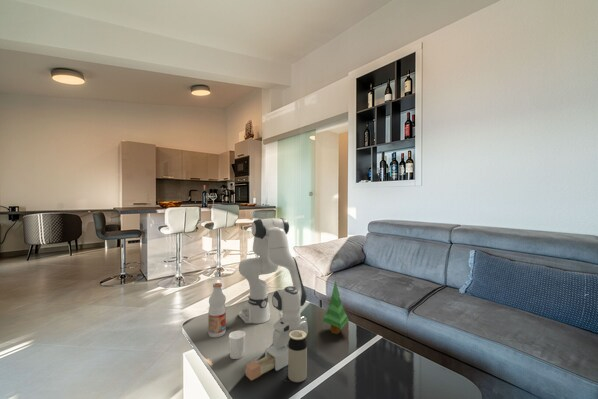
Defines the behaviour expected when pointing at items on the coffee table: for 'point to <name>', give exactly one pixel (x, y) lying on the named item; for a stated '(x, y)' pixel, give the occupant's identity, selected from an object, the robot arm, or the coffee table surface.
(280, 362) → the tunnel
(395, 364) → the coffee table surface
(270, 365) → the rod
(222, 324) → the fruit juice
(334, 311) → the decorative tree
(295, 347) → the travel mug
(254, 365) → the block
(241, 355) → the white cup
